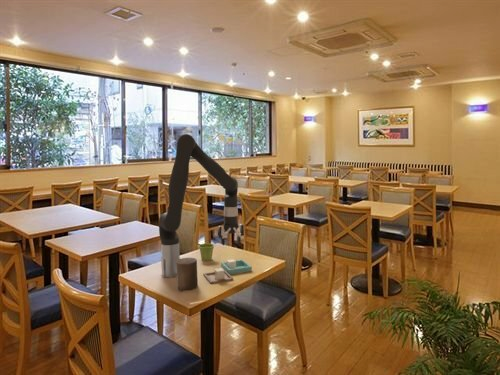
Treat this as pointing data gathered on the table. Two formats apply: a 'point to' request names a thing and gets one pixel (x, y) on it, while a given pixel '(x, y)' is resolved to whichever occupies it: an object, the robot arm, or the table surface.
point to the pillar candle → (187, 274)
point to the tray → (211, 279)
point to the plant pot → (206, 251)
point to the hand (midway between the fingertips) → (230, 244)
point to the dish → (237, 267)
